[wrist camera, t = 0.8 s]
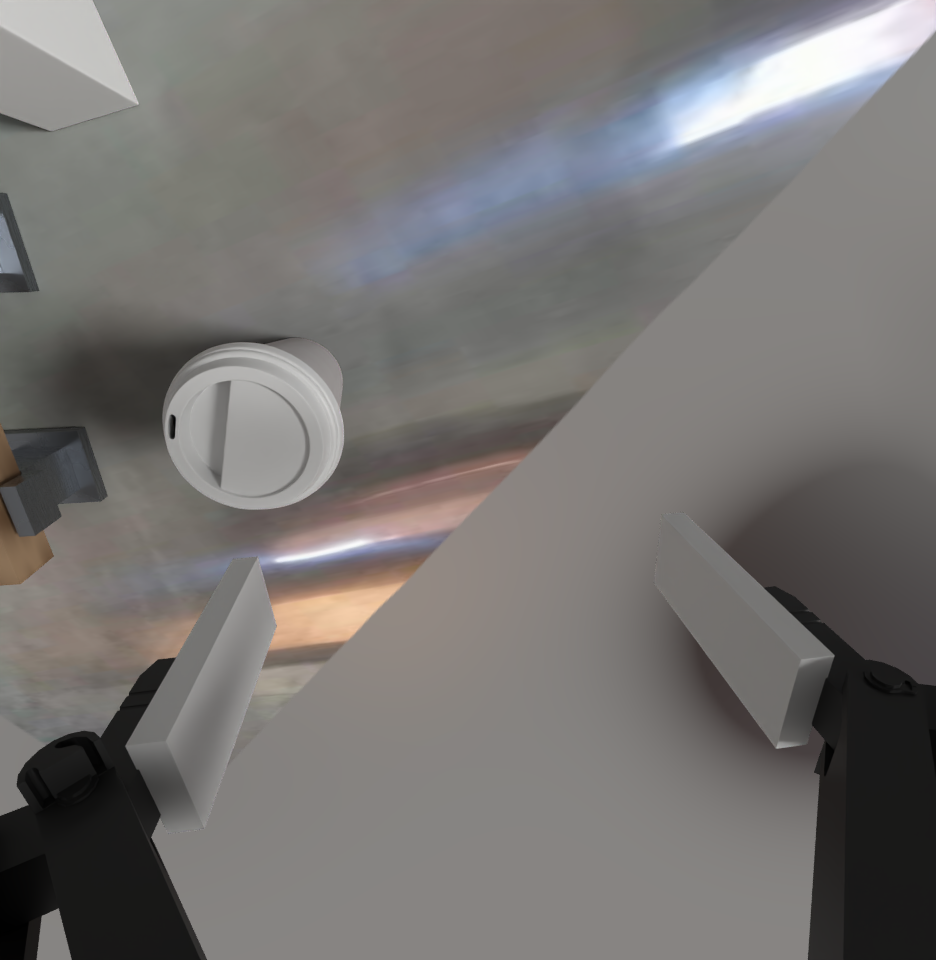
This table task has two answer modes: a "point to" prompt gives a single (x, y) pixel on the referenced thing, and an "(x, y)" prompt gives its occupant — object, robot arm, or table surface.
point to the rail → (3, 550)
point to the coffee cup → (256, 422)
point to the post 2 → (49, 476)
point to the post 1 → (13, 254)
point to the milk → (58, 64)
